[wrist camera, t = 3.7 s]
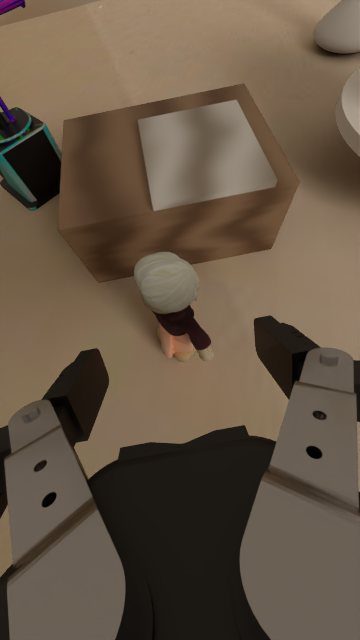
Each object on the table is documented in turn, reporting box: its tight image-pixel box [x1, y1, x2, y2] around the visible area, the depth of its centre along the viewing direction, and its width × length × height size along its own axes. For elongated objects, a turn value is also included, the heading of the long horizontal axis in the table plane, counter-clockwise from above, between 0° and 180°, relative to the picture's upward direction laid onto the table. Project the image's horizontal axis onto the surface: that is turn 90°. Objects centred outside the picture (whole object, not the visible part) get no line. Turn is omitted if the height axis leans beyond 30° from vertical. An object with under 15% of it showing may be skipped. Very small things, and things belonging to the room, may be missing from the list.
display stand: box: [58, 84, 300, 283], centre depth 25 cm, size 20×16×9 cm
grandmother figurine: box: [134, 252, 214, 362], centre depth 16 cm, size 8×4×13 cm, turn 49°
